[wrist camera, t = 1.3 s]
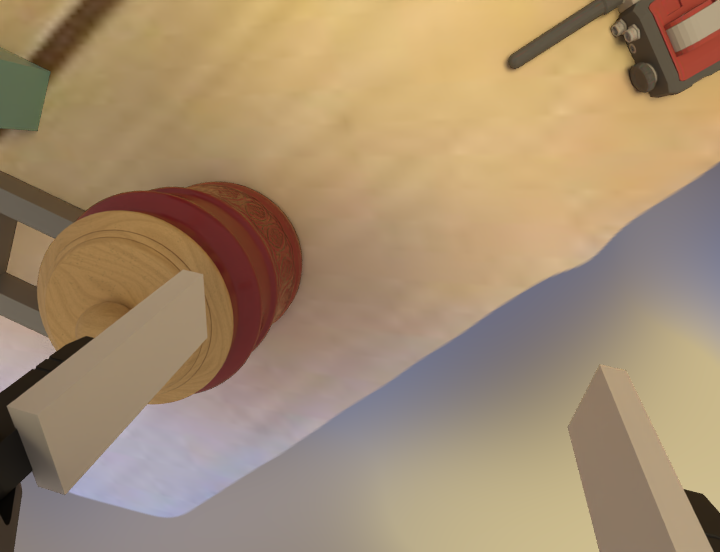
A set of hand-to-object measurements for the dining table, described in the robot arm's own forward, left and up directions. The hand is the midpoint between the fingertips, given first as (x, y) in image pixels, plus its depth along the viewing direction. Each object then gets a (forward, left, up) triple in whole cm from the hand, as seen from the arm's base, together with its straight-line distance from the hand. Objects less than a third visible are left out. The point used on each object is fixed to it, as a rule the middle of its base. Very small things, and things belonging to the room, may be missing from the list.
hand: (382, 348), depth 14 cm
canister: (-6, -13, -22) cm, 26 cm away
